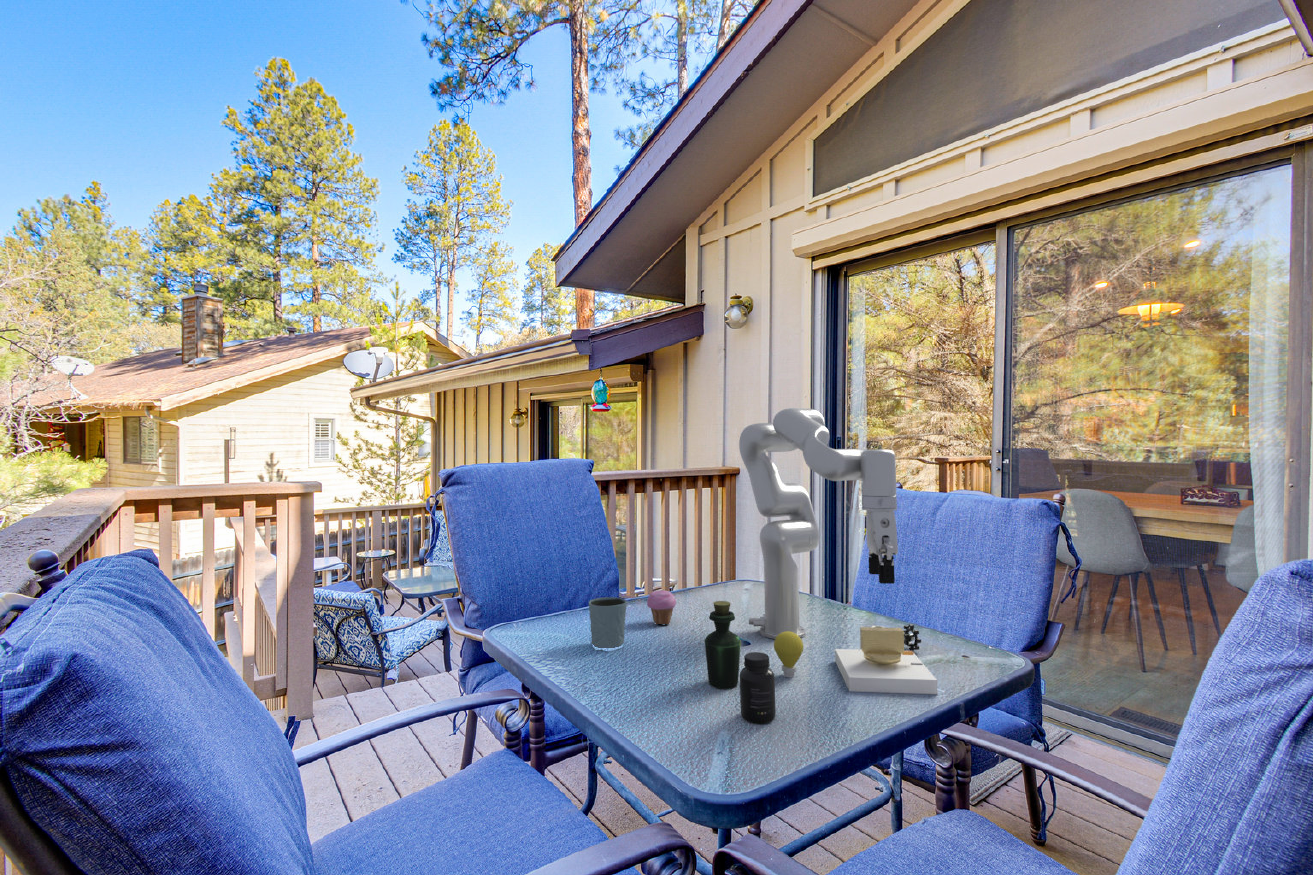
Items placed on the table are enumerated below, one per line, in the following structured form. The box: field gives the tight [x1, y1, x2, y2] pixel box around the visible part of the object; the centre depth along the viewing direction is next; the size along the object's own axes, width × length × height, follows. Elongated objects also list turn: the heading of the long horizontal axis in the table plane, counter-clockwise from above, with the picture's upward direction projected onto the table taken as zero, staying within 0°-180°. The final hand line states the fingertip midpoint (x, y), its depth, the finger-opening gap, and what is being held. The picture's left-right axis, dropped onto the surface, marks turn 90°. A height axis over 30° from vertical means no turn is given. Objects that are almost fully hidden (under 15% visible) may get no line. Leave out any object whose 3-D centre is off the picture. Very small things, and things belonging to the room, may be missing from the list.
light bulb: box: [773, 631, 804, 678], centre depth 139 cm, size 7×7×10 cm
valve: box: [871, 623, 922, 651], centre depth 153 cm, size 7×7×12 cm
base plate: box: [834, 648, 938, 695], centre depth 137 cm, size 18×18×3 cm
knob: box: [859, 626, 914, 664], centre depth 137 cm, size 11×8×8 cm
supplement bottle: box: [739, 651, 777, 725], centre depth 118 cm, size 7×7×12 cm
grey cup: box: [588, 596, 628, 648], centre depth 162 cm, size 10×10×12 cm
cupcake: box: [646, 589, 677, 625], centre depth 181 cm, size 9×9×10 cm
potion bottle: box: [703, 600, 742, 690], centre depth 135 cm, size 8×8×18 cm
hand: (881, 578), depth 137 cm, fingers open, 9 cm apart
